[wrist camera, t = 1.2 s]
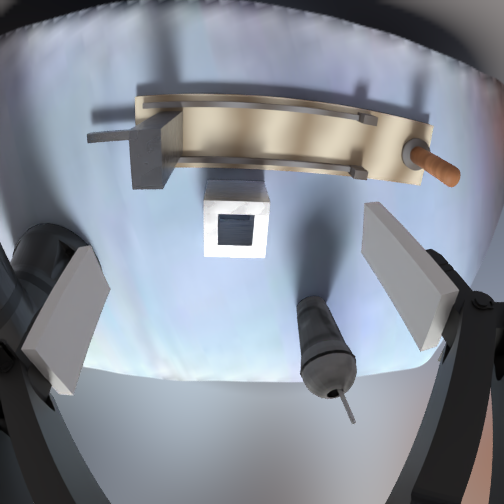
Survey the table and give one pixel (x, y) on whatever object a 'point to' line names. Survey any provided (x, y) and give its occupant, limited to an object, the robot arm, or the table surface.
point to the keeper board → (299, 137)
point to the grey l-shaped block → (150, 147)
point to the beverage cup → (324, 352)
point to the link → (230, 230)
